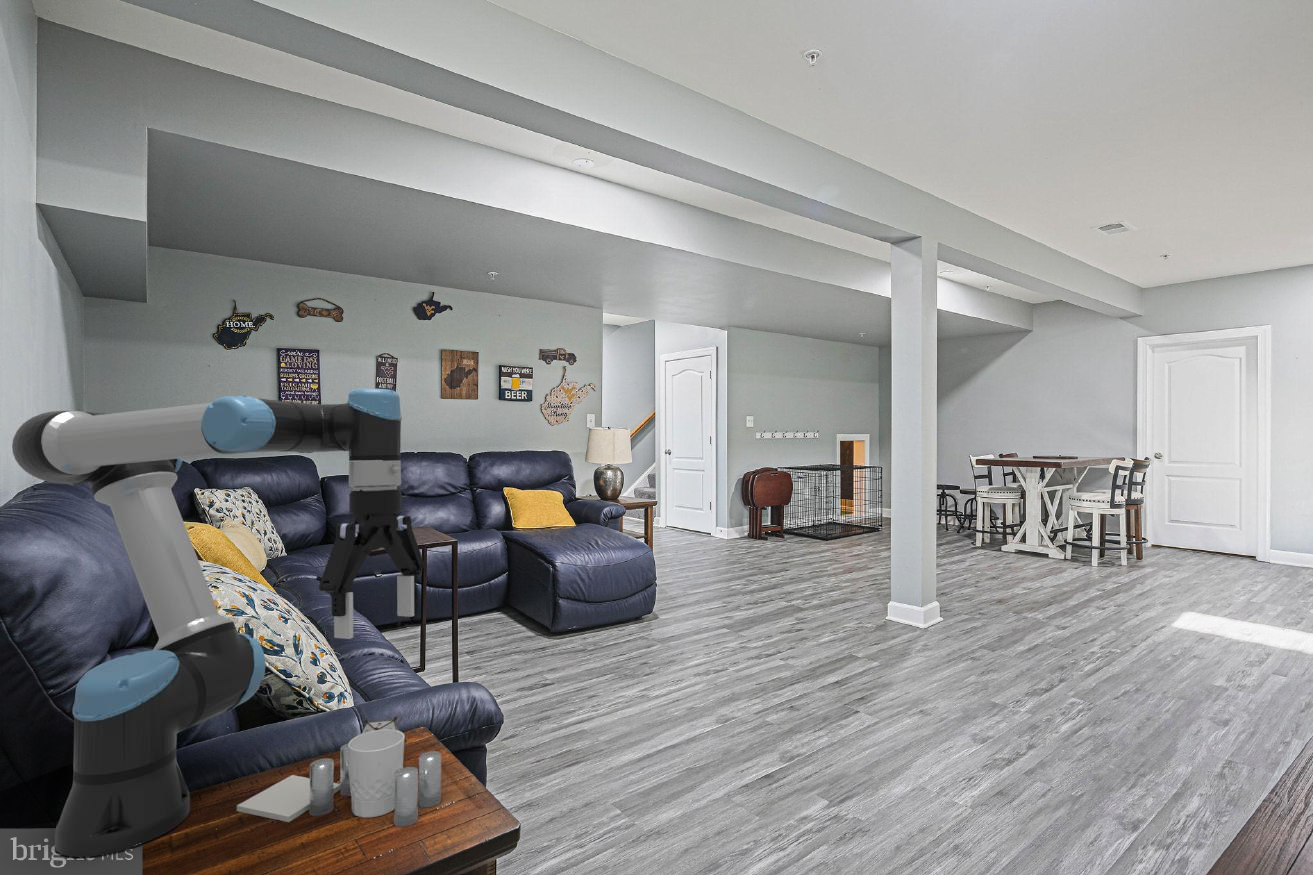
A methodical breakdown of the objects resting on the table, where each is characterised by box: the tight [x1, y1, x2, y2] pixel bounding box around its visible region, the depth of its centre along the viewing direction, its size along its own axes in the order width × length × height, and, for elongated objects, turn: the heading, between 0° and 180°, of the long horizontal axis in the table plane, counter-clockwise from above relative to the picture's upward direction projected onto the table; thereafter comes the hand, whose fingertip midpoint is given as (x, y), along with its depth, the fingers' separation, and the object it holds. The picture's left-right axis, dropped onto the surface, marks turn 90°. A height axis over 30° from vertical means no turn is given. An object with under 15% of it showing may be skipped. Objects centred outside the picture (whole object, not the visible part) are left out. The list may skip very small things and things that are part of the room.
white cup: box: [347, 729, 405, 819], centre depth 101 cm, size 8×8×10 cm
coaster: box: [236, 774, 340, 823], centre depth 103 cm, size 10×10×1 cm
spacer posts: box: [308, 742, 442, 828], centre depth 101 cm, size 17×10×7 cm, turn 72°
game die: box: [360, 715, 408, 744], centre depth 114 cm, size 9×8×10 cm
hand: (376, 626), depth 103 cm, fingers open, 13 cm apart
